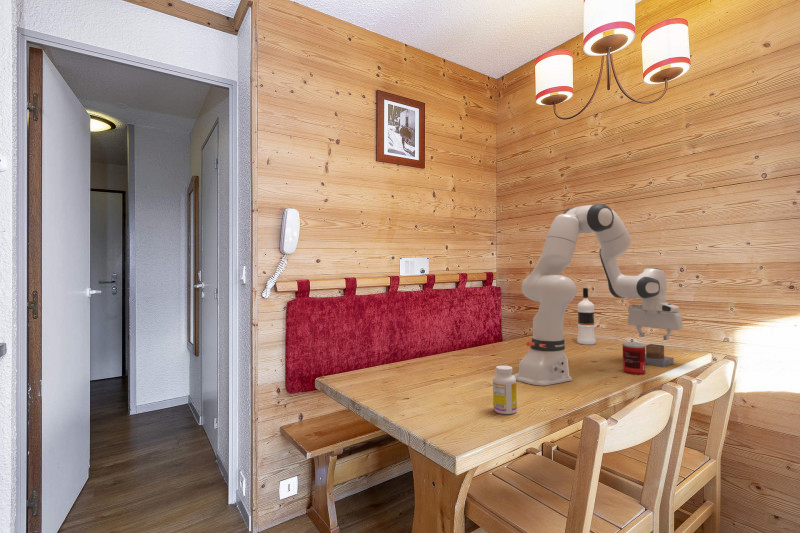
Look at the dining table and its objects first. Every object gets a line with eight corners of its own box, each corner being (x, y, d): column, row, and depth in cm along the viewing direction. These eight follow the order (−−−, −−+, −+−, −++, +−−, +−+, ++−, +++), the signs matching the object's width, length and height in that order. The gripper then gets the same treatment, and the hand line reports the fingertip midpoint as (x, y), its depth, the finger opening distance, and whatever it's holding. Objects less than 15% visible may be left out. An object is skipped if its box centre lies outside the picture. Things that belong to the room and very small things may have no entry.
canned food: (639, 369, 160) (638, 342, 160) (649, 375, 152) (649, 346, 152) (619, 369, 161) (618, 342, 161) (628, 374, 153) (628, 346, 153)
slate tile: (663, 367, 163) (663, 361, 163) (637, 362, 171) (637, 356, 171) (673, 363, 169) (673, 357, 169) (647, 359, 177) (647, 353, 177)
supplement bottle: (512, 406, 120) (512, 364, 120) (520, 414, 113) (519, 369, 113) (490, 407, 120) (490, 364, 120) (496, 415, 113) (496, 370, 113)
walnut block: (659, 359, 166) (659, 347, 166) (646, 357, 170) (646, 345, 170) (664, 357, 169) (664, 345, 169) (651, 355, 173) (651, 343, 173)
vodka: (574, 341, 219) (573, 287, 219) (591, 341, 218) (591, 287, 219) (580, 345, 210) (579, 288, 210) (598, 345, 209) (597, 288, 209)
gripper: (625, 304, 176) (624, 335, 176) (678, 308, 160) (677, 342, 160) (631, 303, 180) (631, 334, 180) (684, 307, 164) (684, 341, 164)
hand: (653, 338), depth 170 cm, fingers open, 8 cm apart
